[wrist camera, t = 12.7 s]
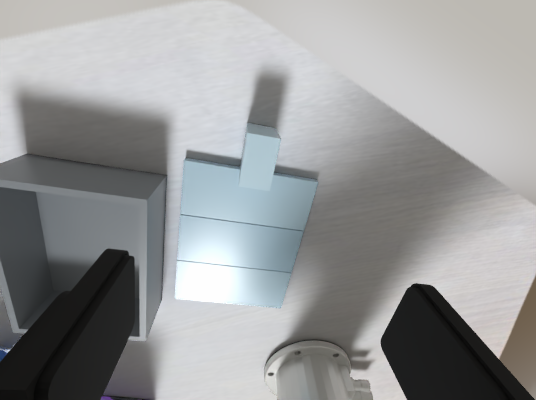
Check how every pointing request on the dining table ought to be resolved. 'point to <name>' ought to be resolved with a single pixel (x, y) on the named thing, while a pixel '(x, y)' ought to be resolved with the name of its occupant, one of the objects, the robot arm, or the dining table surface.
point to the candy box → (115, 398)
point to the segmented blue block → (241, 226)
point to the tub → (76, 232)
